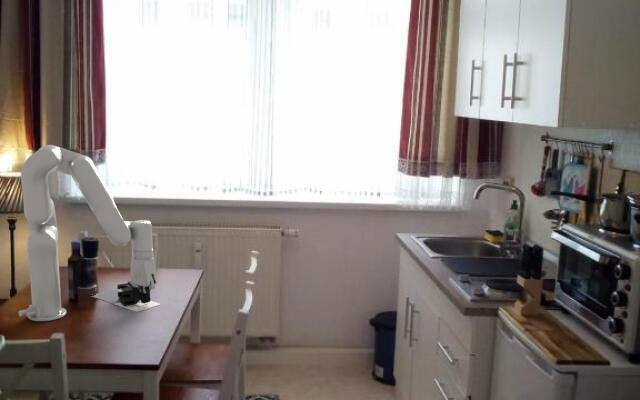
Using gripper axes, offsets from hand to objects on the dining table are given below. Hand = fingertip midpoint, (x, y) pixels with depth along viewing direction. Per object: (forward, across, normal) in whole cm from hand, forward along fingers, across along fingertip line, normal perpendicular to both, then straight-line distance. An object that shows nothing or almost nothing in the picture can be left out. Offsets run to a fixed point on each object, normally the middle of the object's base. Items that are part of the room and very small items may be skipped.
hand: (145, 302), depth 247 cm
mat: (+1, -19, -1) cm, 19 cm away
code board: (+2, -4, -1) cm, 4 cm away
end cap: (+2, -8, -1) cm, 9 cm away
